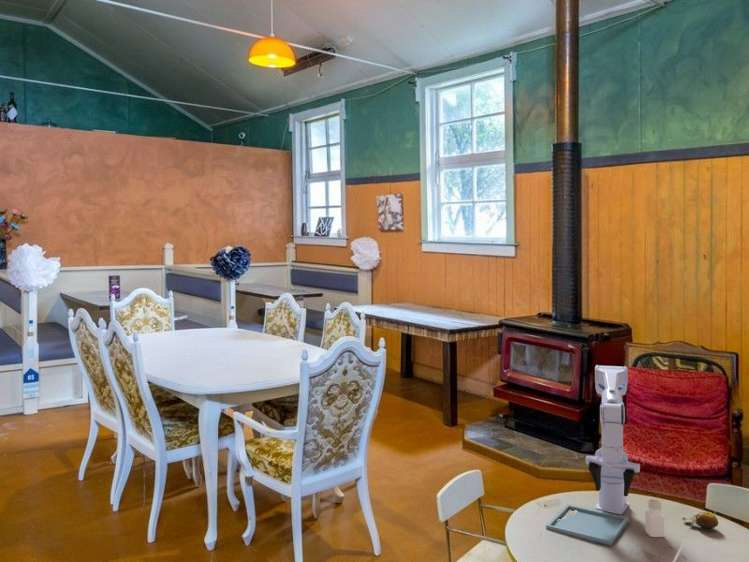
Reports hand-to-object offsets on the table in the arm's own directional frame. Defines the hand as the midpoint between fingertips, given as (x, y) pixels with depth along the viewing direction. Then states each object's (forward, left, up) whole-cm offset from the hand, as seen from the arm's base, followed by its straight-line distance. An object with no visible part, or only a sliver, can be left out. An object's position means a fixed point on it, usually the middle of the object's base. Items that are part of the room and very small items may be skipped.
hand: (612, 492), depth 181 cm
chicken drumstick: (-17, +17, -12) cm, 27 cm away
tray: (+3, -6, -10) cm, 12 cm away
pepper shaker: (-2, +11, -11) cm, 15 cm away
